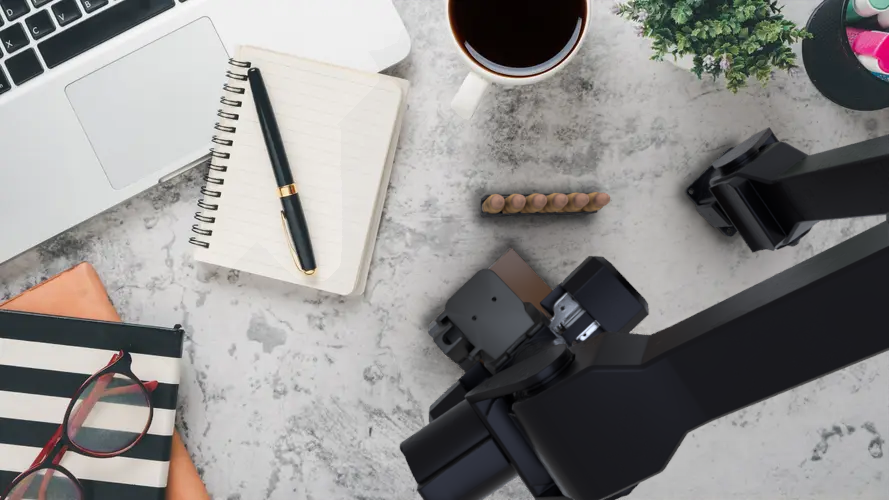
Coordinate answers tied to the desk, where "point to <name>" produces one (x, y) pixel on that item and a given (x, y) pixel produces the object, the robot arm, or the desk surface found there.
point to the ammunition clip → (543, 204)
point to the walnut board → (512, 286)
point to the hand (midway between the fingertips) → (525, 344)
